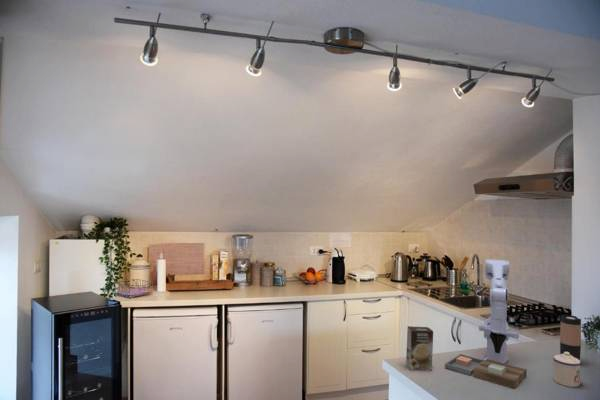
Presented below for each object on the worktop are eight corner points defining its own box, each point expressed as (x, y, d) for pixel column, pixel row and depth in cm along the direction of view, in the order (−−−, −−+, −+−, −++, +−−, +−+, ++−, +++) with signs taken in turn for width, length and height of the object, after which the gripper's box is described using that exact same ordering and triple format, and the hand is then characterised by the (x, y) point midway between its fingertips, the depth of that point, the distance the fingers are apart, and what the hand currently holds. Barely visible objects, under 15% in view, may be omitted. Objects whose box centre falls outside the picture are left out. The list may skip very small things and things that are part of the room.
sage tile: (492, 368, 164) (492, 363, 164) (505, 372, 161) (505, 366, 161) (487, 371, 161) (487, 366, 161) (501, 375, 157) (501, 370, 157)
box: (460, 358, 182) (460, 353, 182) (484, 365, 175) (484, 360, 175) (444, 368, 171) (444, 363, 171) (470, 376, 164) (470, 370, 164)
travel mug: (557, 362, 180) (558, 316, 181) (561, 358, 186) (562, 313, 186) (578, 367, 175) (579, 320, 176) (581, 363, 181) (582, 317, 181)
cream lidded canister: (580, 389, 153) (581, 358, 154) (551, 383, 159) (552, 353, 159) (580, 379, 163) (581, 349, 163) (553, 373, 169) (554, 344, 169)
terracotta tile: (472, 358, 176) (472, 363, 176) (460, 355, 179) (460, 360, 179) (467, 362, 172) (467, 366, 172) (456, 358, 175) (455, 363, 175)
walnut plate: (487, 365, 175) (487, 358, 175) (526, 376, 164) (526, 369, 164) (473, 376, 163) (473, 369, 163) (514, 389, 153) (514, 380, 153)
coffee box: (410, 370, 168) (411, 330, 168) (405, 364, 174) (406, 326, 174) (432, 370, 168) (433, 331, 168) (427, 364, 174) (428, 326, 175)
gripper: (476, 316, 166) (475, 350, 166) (515, 323, 156) (514, 360, 156) (482, 313, 171) (481, 346, 171) (520, 320, 161) (520, 355, 161)
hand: (497, 352), depth 164 cm, fingers closed
